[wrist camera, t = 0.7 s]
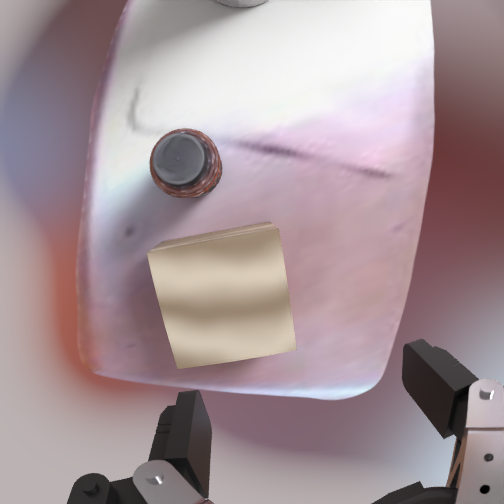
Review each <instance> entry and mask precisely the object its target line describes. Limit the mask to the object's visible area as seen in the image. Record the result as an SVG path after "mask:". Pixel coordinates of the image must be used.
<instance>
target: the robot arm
mask: <svg viewBox="0 0 504 504" xmlns="http://www.w3.org/2000/svg"><path fill="white" fill-rule="evenodd" d="M216 1H217V2H219V3H222V4H224V5H228V6H231V7H252V6H256V5H259V4H262V3H264V2H266V1H268V0H216ZM402 381H403V384H404V387H405V389H406V390H407V392H408V393H409V394H410V396H411V397H412V398H413V399H414V401H415V402H416V403H417V405H418V406H419V407H420V409H421V410H422V411H423V412H424V414H425V415H426V416H427V418H428V419H429V420H430V422H431V423H432V424H433V425H434V427H435V428H436V429H437V431H438V432H439V433H440V435H441V436H442V437H443V439H445V438H447V437H449V436H451V435H453V434H454V435H455V436H456V437H457V438H456V441H455V446H454V451H453V457H452V462H451V467H450V472H449V476H448V480H447V483H446V487H429V488H423V486H422V484H421V482H420V481H419V482H416V483H414V484H412V485H409V486H407V487H404V488H401V489H399V490H396V491H394V492H391V493H389V494H387V495H386V496H384V497H382V498H381V499H379V500H377V501H375V502H374V503H372V504H504V386H503V385H501V383H499V382H498V381H496V380H493V379H482V380H479V379H478V378H477V377H476V376H475V375H474V374H472V373H471V372H470V371H469V370H468V369H467V368H466V367H465V366H463V365H462V364H461V363H459V361H457V359H455V358H454V357H453V356H452V355H451V354H450V353H448V352H447V351H446V350H444V349H441V348H439V347H436V346H435V347H432V346H430V345H429V344H428V343H427V342H426V341H425V340H423V339H419V340H416V341H414V342H410V343H408V344H405V345H404V348H403V367H402ZM211 440H212V429H211V423H210V419H209V416H208V413H207V411H206V408H205V405H204V402H203V399H202V396H201V394H200V392H199V390H193V391H185V392H179V393H178V397H177V401H176V405H173V406H167V408H166V409H165V410H164V411H163V412H162V413H161V415H160V418H159V422H158V426H157V429H156V434H155V437H154V440H153V444H152V448H151V452H150V455H149V460H148V462H146V463H144V464H142V465H141V466H139V467H138V468H137V469H136V471H135V472H134V474H133V477H130V478H127V479H122V480H117V481H113V482H109V480H108V479H107V478H106V477H105V476H104V475H101V474H98V473H91V474H87V475H84V476H82V477H80V478H79V479H78V480H77V481H76V482H75V483H74V485H73V487H72V490H71V493H70V496H69V499H68V502H67V504H214V503H213V502H212V501H210V500H209V499H207V500H205V499H206V498H208V495H209V475H210V455H211Z"/></svg>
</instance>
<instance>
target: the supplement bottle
mask: <svg viewBox="0 0 504 504" xmlns="http://www.w3.org/2000/svg"><path fill="white" fill-rule="evenodd" d="M150 172H151V175H152V178H153V180H154V181H155V183H156V184H157V186H158V187H159V188H160V189H161V190H163V191H164V192H165V193H167V194H169V195H172V196H175V197H181V198H190V197H200V196H203V195H205V194H207V193H209V192H211V191H212V190H213V189H214V188H215V187H216V185H217V184H218V182H219V180H220V178H221V175H222V163H221V159H220V156H219V153H218V150H217V148H216V146H215V145H214V143H213V142H212V140H211V139H210V138H209V137H208V136H206V135H205V134H203V133H202V132H200V131H197V130H194V129H186V128H183V129H177V130H174V131H171V132H169V133H167V134H166V135H164V136H163V137H162V138H161V139H160V140H159V141H158V142H157V143H156V145H155V146H154V148H153V150H152V153H151V157H150Z"/></svg>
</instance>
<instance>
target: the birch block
mask: <svg viewBox="0 0 504 504" xmlns="http://www.w3.org/2000/svg"><path fill="white" fill-rule="evenodd" d="M147 256H148V261H149V265H150V269H151V274H152V278H153V282H154V286H155V290H156V294H157V298H158V302H159V306H160V309H161V313H162V317H163V321H164V324H165V328H166V331H167V335H168V338H169V342H170V345H171V349H172V352H173V355H174V359H175V362H176V365H177V368H178V369H182V368H190V367H198V366H205V365H212V364H219V363H226V362H232V361H239V360H245V359H251V358H257V357H262V356H268V355H273V354H278V353H284V352H289V351H294V350H297V349H296V341H295V334H294V327H293V320H292V313H291V306H290V299H289V292H288V285H287V278H286V271H285V265H284V258H283V252H282V245H281V239H280V233H279V229H278V228H277V227H276V226H275V225H273V224H272V223H271V222H266V223H260V224H254V225H249V226H243V227H237V228H232V229H226V230H221V231H215V232H210V233H204V234H199V235H194V236H188V237H183V238H178V239H173V240H167V241H163V242H161V243H160V244H159V245H157V246H156V247H154V248H153V249H152V250H150V251H149V252H148V253H147Z"/></svg>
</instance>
